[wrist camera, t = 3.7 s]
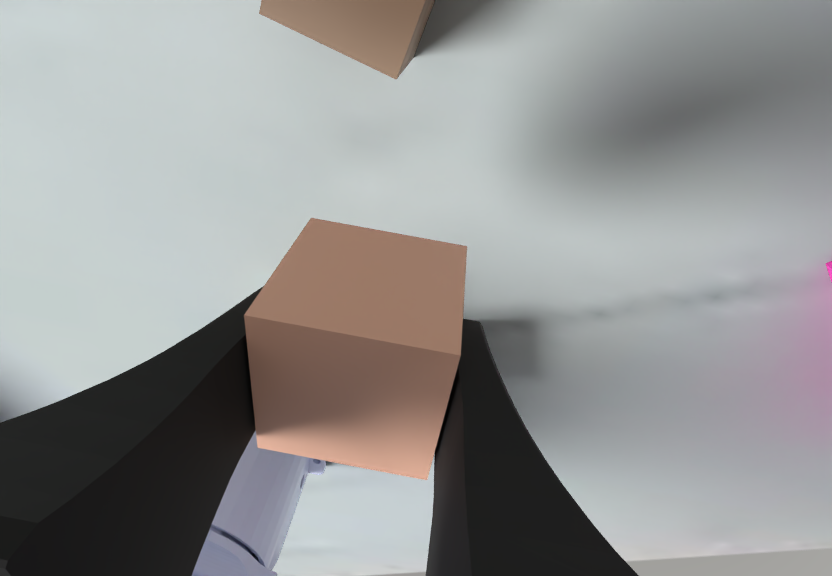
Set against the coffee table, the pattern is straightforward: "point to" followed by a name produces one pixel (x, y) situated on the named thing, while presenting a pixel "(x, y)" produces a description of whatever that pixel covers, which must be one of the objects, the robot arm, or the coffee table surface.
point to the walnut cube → (358, 27)
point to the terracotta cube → (357, 347)
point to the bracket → (829, 269)
